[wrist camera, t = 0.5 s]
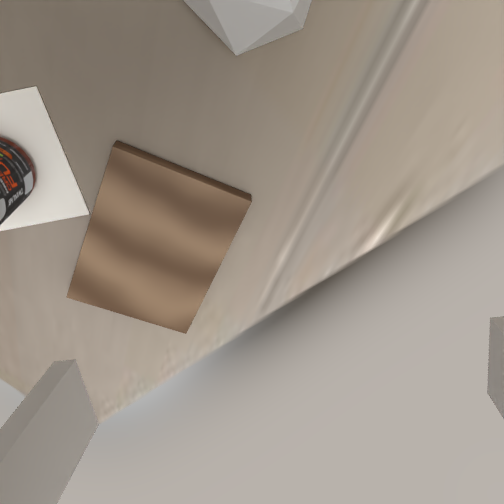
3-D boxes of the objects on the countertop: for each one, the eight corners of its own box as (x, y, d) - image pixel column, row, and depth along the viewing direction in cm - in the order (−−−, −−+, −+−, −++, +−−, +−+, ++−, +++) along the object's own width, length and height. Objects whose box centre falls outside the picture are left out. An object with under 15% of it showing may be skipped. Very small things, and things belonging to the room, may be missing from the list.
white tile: (-100, 114, 34) (-102, 114, 34) (36, 85, 34) (35, 86, 34) (-28, 235, 40) (-29, 236, 40) (89, 213, 39) (89, 214, 39)
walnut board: (116, 140, 36) (112, 146, 35) (250, 194, 39) (251, 201, 38) (71, 287, 43) (66, 297, 42) (187, 324, 46) (186, 333, 45)
